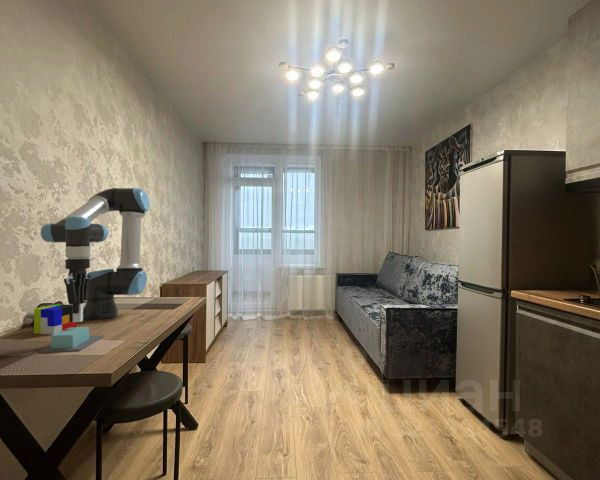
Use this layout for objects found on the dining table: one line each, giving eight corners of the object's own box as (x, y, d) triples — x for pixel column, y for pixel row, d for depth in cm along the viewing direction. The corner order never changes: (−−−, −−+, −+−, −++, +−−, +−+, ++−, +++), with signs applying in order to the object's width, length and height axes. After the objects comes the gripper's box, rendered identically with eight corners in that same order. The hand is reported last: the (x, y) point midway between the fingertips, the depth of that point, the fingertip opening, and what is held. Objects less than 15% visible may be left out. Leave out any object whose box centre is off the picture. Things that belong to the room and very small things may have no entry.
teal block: (69, 327, 119) (51, 335, 109) (89, 327, 119) (72, 334, 110) (69, 339, 119) (51, 348, 109) (89, 339, 119) (72, 348, 110)
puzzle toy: (54, 334, 127) (54, 309, 127) (34, 333, 129) (34, 308, 129) (76, 328, 137) (76, 305, 137) (57, 326, 139) (57, 304, 139)
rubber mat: (67, 338, 123) (67, 336, 123) (103, 336, 124) (103, 335, 124) (38, 352, 107) (38, 350, 107) (79, 351, 108) (79, 349, 108)
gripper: (77, 257, 125) (77, 317, 124) (55, 259, 112) (55, 326, 111) (97, 257, 125) (97, 317, 125) (78, 259, 112) (78, 325, 112)
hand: (77, 321), depth 118 cm, fingers closed
